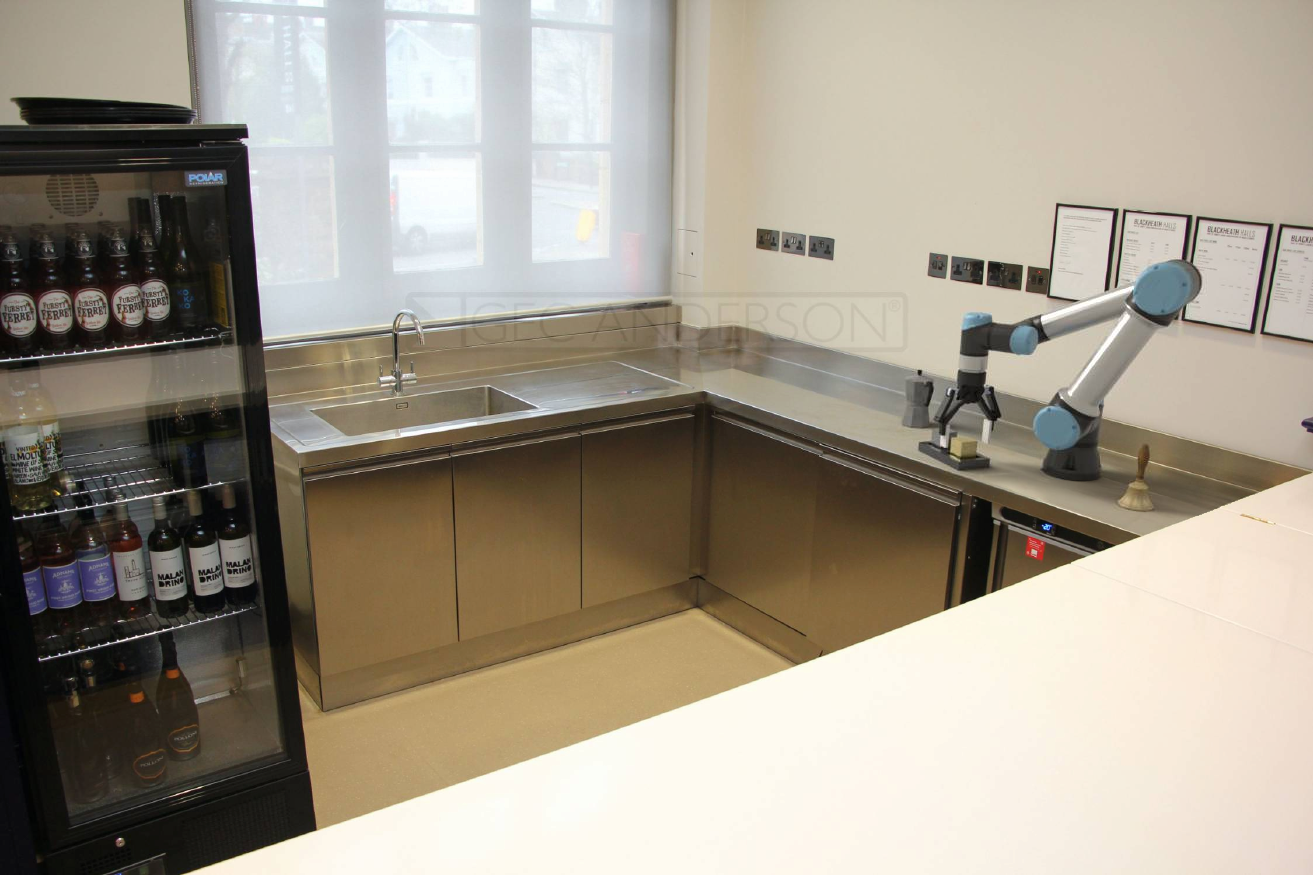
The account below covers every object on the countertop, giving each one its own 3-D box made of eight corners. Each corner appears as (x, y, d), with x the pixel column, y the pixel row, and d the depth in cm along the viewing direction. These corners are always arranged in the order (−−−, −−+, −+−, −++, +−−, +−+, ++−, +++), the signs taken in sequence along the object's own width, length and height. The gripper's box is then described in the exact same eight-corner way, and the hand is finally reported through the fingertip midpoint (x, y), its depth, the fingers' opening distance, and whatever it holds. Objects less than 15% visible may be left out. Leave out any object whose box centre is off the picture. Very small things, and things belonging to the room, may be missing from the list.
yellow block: (975, 465, 282) (977, 441, 280) (959, 466, 280) (961, 442, 278) (964, 460, 286) (967, 436, 284) (949, 461, 285) (951, 437, 283)
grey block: (955, 455, 291) (957, 431, 289) (940, 456, 289) (942, 433, 287) (945, 450, 295) (947, 427, 293) (930, 451, 294) (932, 428, 292)
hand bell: (1151, 502, 255) (1160, 441, 251) (1155, 513, 247) (1165, 450, 243) (1115, 498, 258) (1124, 438, 253) (1118, 509, 250) (1127, 447, 246)
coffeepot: (892, 420, 330) (896, 366, 325) (918, 418, 332) (923, 364, 327) (915, 432, 316) (919, 376, 311) (942, 431, 318) (947, 374, 313)
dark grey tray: (989, 469, 280) (990, 458, 279) (957, 472, 277) (959, 461, 276) (947, 449, 298) (948, 439, 298) (917, 451, 295) (918, 442, 295)
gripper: (1002, 364, 283) (994, 437, 289) (924, 369, 275) (918, 444, 281) (1019, 370, 276) (1011, 444, 282) (940, 375, 268) (933, 451, 274)
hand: (964, 444), depth 282 cm, fingers open, 13 cm apart
